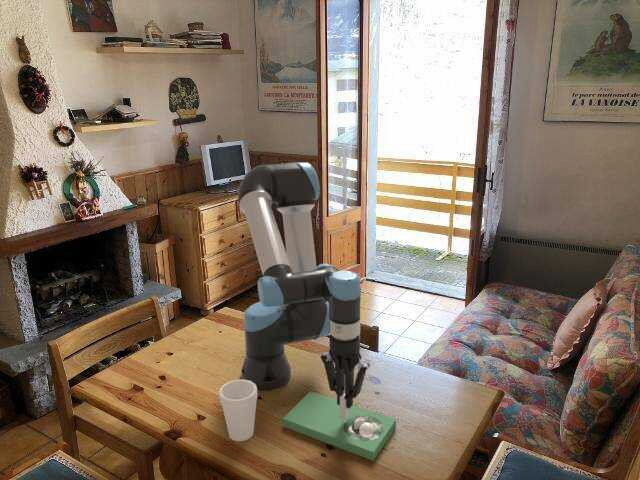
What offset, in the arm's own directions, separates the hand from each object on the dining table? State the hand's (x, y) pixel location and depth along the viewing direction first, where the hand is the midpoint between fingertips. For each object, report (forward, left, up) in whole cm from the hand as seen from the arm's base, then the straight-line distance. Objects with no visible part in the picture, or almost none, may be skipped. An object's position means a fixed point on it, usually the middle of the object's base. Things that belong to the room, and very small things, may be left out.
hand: (345, 416), depth 134 cm
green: (-2, 0, -4) cm, 5 cm away
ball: (+6, 0, -2) cm, 7 cm away
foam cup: (-23, -14, -4) cm, 27 cm away
